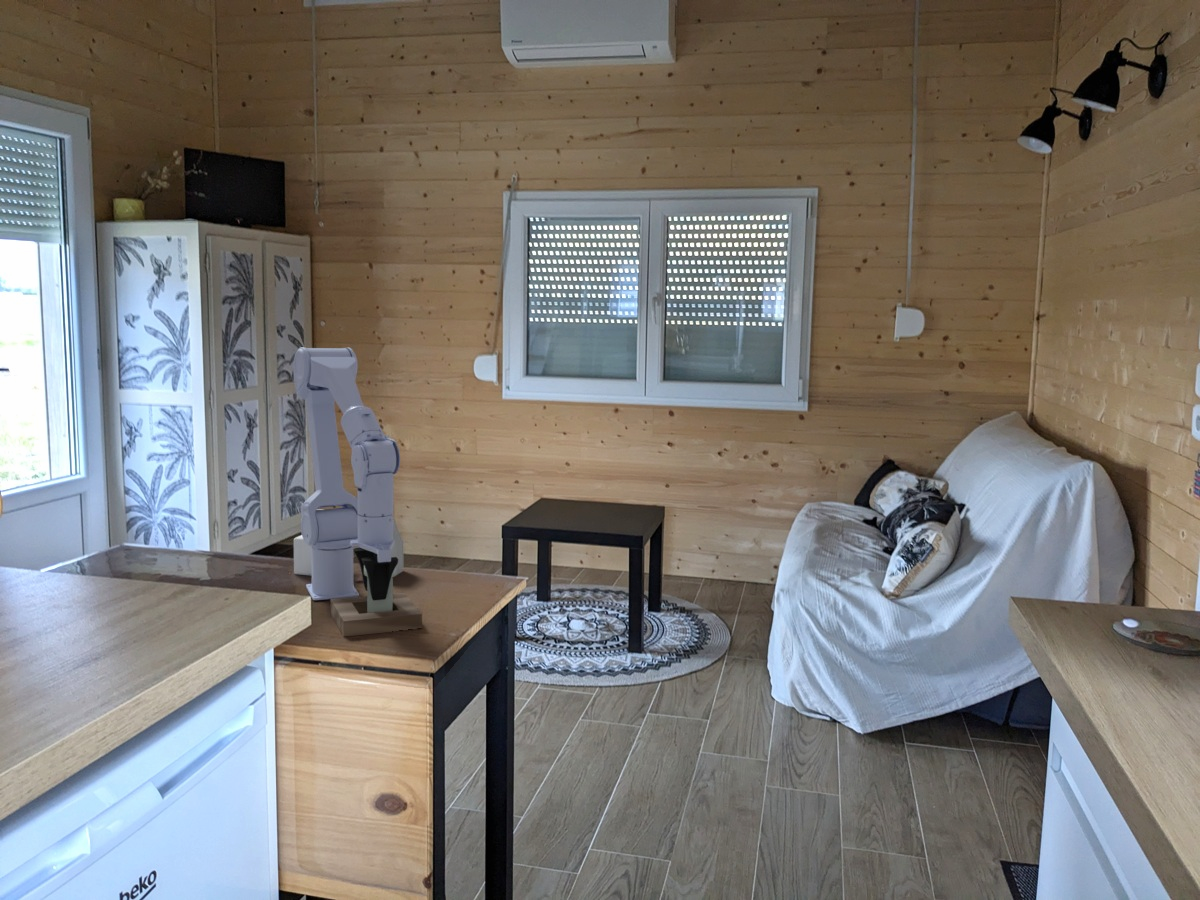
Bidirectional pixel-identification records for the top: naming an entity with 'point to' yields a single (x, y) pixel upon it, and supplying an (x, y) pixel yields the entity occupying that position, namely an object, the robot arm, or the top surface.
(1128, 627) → the top surface
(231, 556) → the top surface
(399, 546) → the grey gabled block
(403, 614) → the walnut holder
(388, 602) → the green peg
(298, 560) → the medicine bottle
